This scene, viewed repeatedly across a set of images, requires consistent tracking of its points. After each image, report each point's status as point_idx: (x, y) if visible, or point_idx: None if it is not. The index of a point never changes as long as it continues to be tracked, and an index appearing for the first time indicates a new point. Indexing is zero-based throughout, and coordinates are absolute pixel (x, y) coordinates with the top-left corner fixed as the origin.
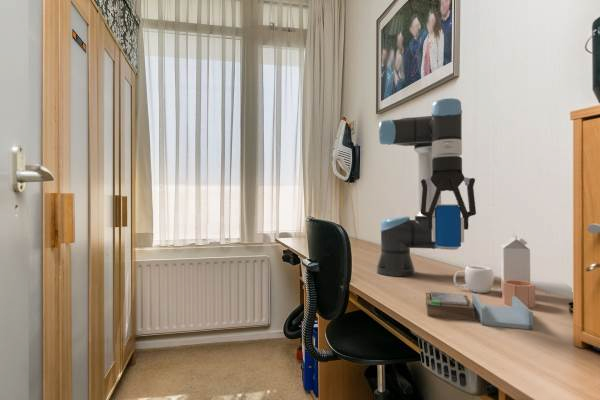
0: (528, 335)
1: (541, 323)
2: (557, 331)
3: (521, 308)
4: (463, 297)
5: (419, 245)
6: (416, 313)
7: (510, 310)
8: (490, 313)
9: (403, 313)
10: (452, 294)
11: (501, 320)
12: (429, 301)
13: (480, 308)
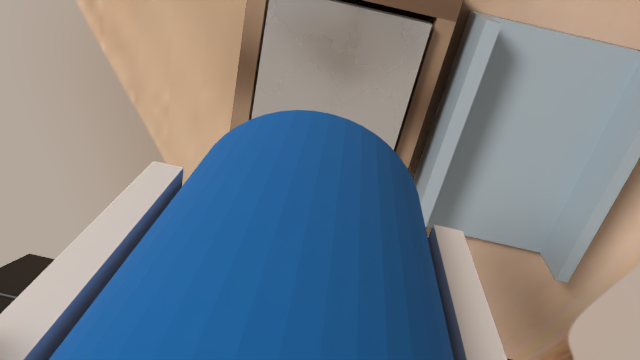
0: (496, 284)
1: (628, 192)
2: (616, 255)
3: (590, 199)
4: (405, 92)
5: None
6: (201, 110)
7: (595, 104)
8: (479, 146)
9: (151, 113)
10: (372, 39)
11: (473, 218)
12: (242, 114)
13: None
